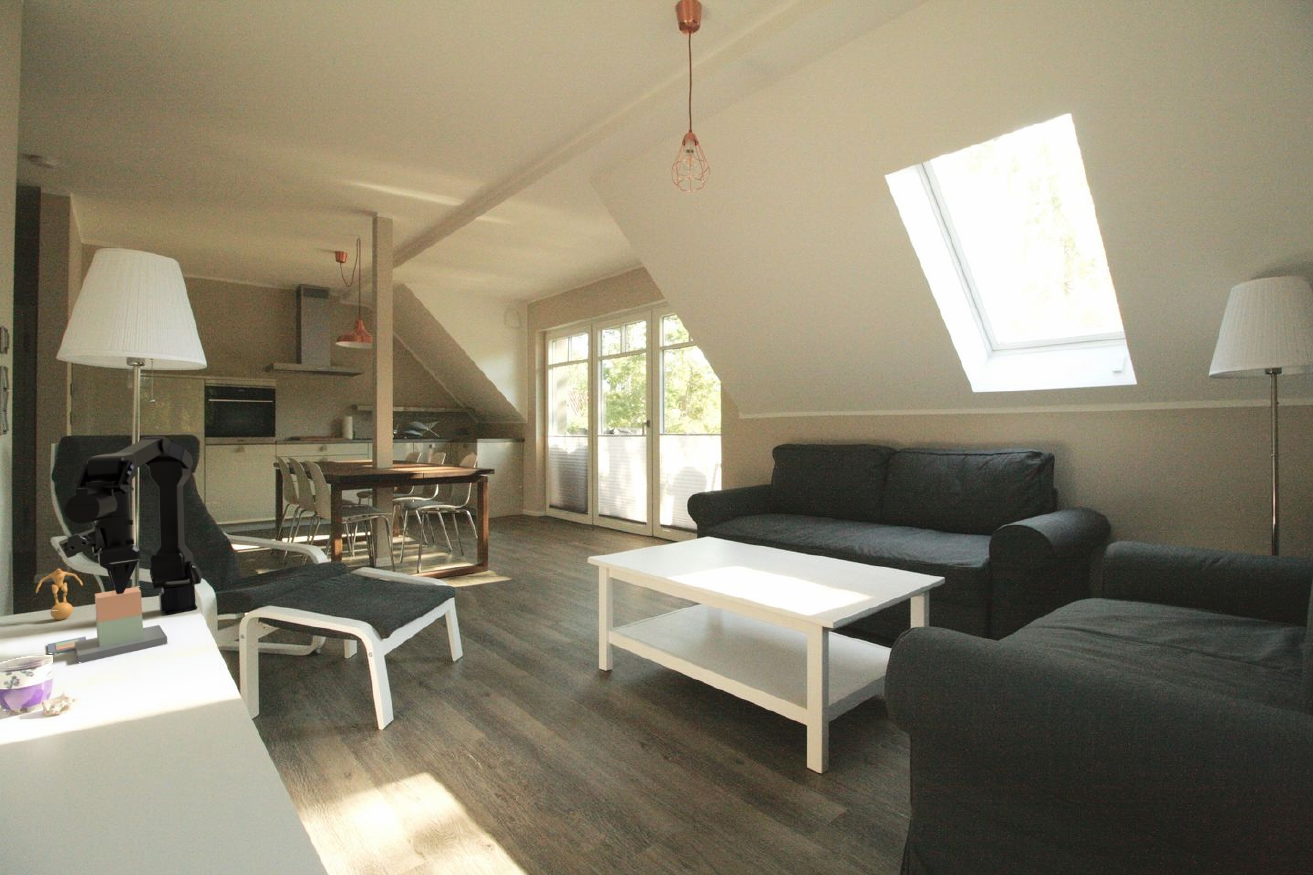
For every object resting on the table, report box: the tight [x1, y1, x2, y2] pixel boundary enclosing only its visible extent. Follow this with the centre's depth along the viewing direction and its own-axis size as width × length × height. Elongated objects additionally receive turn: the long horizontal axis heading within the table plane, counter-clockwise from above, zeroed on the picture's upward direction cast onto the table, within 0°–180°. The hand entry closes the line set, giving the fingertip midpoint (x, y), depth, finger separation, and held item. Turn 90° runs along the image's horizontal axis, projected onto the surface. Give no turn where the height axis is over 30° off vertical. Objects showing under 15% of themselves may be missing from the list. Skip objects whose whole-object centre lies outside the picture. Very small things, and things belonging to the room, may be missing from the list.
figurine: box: [35, 568, 84, 621], centre depth 154 cm, size 8×6×12 cm
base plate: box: [74, 624, 168, 664], centre depth 134 cm, size 14×11×2 cm
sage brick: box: [95, 614, 144, 647], centre depth 134 cm, size 7×5×5 cm
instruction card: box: [47, 636, 87, 654], centre depth 135 cm, size 6×8×1 cm
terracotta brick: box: [94, 586, 143, 623], centre depth 134 cm, size 7×5×5 cm
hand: (117, 589), depth 133 cm, fingers open, 9 cm apart
